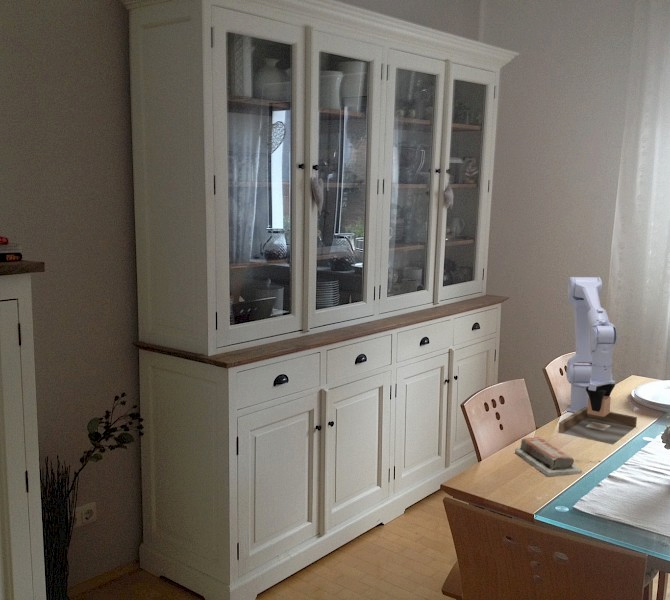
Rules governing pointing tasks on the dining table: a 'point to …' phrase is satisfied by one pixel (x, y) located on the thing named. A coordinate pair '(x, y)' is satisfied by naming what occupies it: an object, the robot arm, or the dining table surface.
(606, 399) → the cube
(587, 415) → the tray
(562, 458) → the packaged product
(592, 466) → the dining table surface
